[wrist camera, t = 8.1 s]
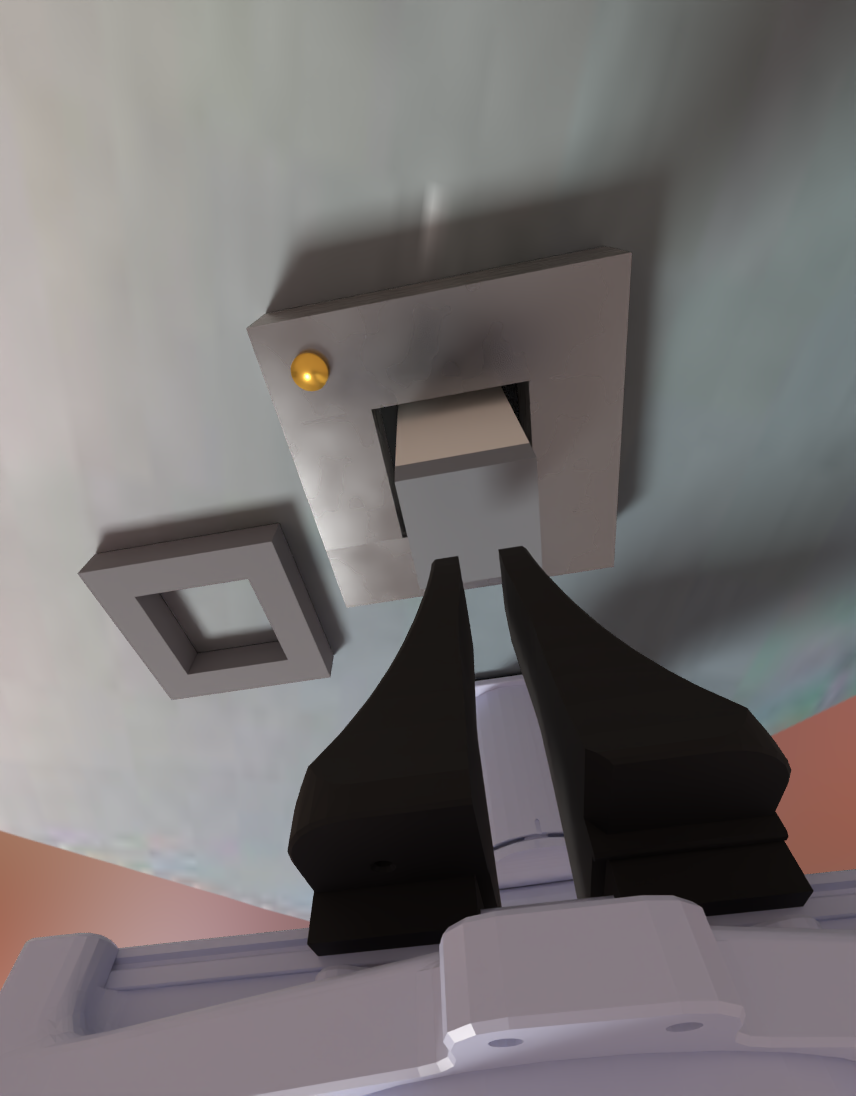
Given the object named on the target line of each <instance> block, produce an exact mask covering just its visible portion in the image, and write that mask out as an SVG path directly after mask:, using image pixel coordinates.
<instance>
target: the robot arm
mask: <svg viewBox="0 0 856 1096" xmlns="http://www.w3.org/2000/svg"><path fill="white" fill-rule="evenodd" d="M498 551H499V560H500V569H501V578H502V587H503V596H504V605H505V612H506V616H507V621H508V626H509V631H510V636H511V640H512V644H513V647H514V650H515V653H516V656H517V659H518V662H519V665H520V668H521V671H522V674H523V675H515V676H508V677H501V678H494V679H487V680H480V681H475V674H474V653H473V643H472V636H471V629H470V623H469V616H468V610H467V604H466V598H465V592H464V587H463V581H462V575H461V569H460V563H459V557H458V556H454V557H448V558H441V559H435V560H434V561H433V563H432V564H431V571H430V575H429V579H428V583H427V586H426V589H425V592H424V596H423V598H422V601H421V603H420V606H419V609H418V611H417V614H416V616H415V619H414V621H413V623H412V625H411V628H410V630H409V632H408V634H407V636H406V638H405V640H404V642H403V644H402V646H401V648H400V650H399V652H398V654H397V655H396V657H395V659H394V661H393V662H392V664H391V666H390V667H389V669H388V671H387V672H386V674H385V675H384V677H383V678H382V680H381V681H380V683H379V684H378V686H377V687H376V689H375V690H374V692H373V693H372V694H371V696H370V697H369V699H368V700H367V701H366V703H365V704H364V705H363V706H362V708H361V709H360V710H359V711H358V712H357V714H356V715H355V716H354V717H353V719H352V720H351V721H350V722H349V724H348V725H347V726H346V727H345V729H344V730H343V731H342V732H341V733H340V734H339V735H338V736H337V737H336V739H335V740H334V741H333V742H332V743H331V744H330V745H329V746H328V747H327V748H326V749H325V750H324V751H323V752H322V753H321V754H320V755H319V756H318V757H317V758H316V759H315V760H314V761H313V762H312V763H311V764H310V765H309V766H308V769H307V771H306V774H305V777H304V780H303V783H302V786H301V789H300V793H299V796H298V799H297V802H296V806H295V810H294V815H293V821H292V827H291V833H290V839H289V846H288V854H289V856H290V858H291V860H292V862H293V863H294V865H295V866H296V868H297V869H298V870H299V872H300V873H301V874H302V876H303V877H304V878H305V880H306V881H307V882H308V884H309V885H310V886H311V888H312V889H313V890H314V896H313V903H312V910H311V918H310V925H309V928H303V929H295V930H294V929H293V930H284V931H276V932H265V933H256V934H247V935H238V936H229V937H219V938H209V939H200V940H191V941H181V942H173V943H163V944H154V945H144V946H135V947H125V948H117V946H116V944H114V943H113V942H112V941H111V940H109V939H108V938H106V937H104V936H102V935H98V934H93V933H75V934H66V935H57V936H49V937H40V938H32V939H30V940H28V941H27V942H26V943H25V945H24V947H23V949H22V950H21V952H20V955H19V956H18V958H17V960H16V962H15V964H14V966H13V968H12V970H11V972H10V974H9V976H8V978H7V980H6V981H5V983H4V985H3V987H2V989H1V991H0V1096H856V869H854V870H844V871H835V872H825V873H816V874H807V875H804V874H803V872H802V870H801V868H800V867H799V865H798V864H797V862H796V860H795V858H794V857H793V855H792V853H791V852H790V850H789V848H788V846H787V845H786V843H785V841H784V840H787V838H788V833H787V830H786V828H785V827H784V825H783V823H782V822H781V820H780V818H779V817H778V815H777V813H776V812H775V811H776V808H777V806H778V804H779V802H780V800H781V798H782V795H783V793H784V791H785V789H786V787H787V784H788V782H789V778H790V773H791V768H790V766H789V763H788V760H787V759H786V757H785V756H784V754H783V753H782V751H781V750H780V748H779V747H778V745H777V744H776V742H775V741H774V740H773V738H772V737H771V736H770V735H769V733H768V732H767V731H766V730H765V728H764V727H763V726H762V725H761V724H760V723H759V721H758V720H757V719H756V718H755V717H754V716H753V714H752V713H751V712H750V711H749V710H748V708H746V707H744V706H742V705H739V704H737V703H735V702H733V701H731V700H728V699H726V698H724V697H722V696H719V695H717V694H715V693H713V692H710V691H708V690H706V689H704V688H702V687H699V686H697V685H695V684H693V683H691V682H689V681H688V680H686V679H684V678H682V677H680V676H678V675H676V674H674V673H672V672H670V671H669V670H667V669H665V668H663V667H662V666H660V665H659V664H657V663H655V662H654V661H652V660H650V659H649V658H647V657H645V656H644V655H642V654H640V653H639V652H637V651H635V650H634V649H633V648H631V647H630V646H628V645H627V644H625V643H624V642H622V641H621V640H620V639H618V638H617V637H615V636H614V635H613V634H611V633H610V632H609V631H607V630H606V629H605V628H604V627H602V626H601V625H600V624H599V623H597V622H596V621H595V620H594V619H592V618H591V617H590V616H589V615H588V614H587V613H586V612H584V611H583V610H582V609H581V608H580V607H579V606H578V605H577V604H575V603H574V602H573V601H572V600H571V599H570V598H569V597H568V596H567V595H566V594H565V593H564V592H563V591H562V590H561V589H560V588H559V587H558V586H557V585H556V584H555V583H554V582H553V581H552V579H551V578H550V577H549V576H548V575H547V574H546V573H545V572H544V570H543V569H542V568H541V567H540V566H539V565H538V563H537V562H536V561H535V560H534V558H533V557H532V556H531V554H530V553H529V552H528V550H527V549H526V548H525V547H523V546H517V547H511V548H504V549H498Z"/></svg>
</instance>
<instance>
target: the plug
mask: <svg viewBox="0 0 856 1096" xmlns="http://www.w3.org/2000/svg"><path fill="white" fill-rule="evenodd" d="M394 482H395V486H396V491H397V495H398V499H399V503H400V507H401V511H402V516H403V520H404V524H405V528H406V532H407V536H408V541H409V545H410V549H411V553H412V557H413V561H414V566H415V570H416V574H417V578H418V582H419V586H420V589H426V586H427V583H428V579H429V575H430V571H431V564H432V563H433V561H434V560H435V559H441V558H448V557H454V556H458V557H459V563H460V569H461V575H462V581H463V583H464V582H470V581H477V580H483V579H490V578H496V577H501V569H500V560H499V551H498V549H504V548H511V547H517V546H523V547H525V548H526V549H527V550H528V552H529V553H530V554H531V556H532V557H533V558H534V560H535V561H536V562H537V563H538V565H539V566H540V567H541V568H542V552H541V532H540V513H539V494H538V474H537V457H536V455H535V453H534V451H533V449H532V447H531V445H530V443H529V441H528V439H527V437H526V435H525V433H524V431H523V429H522V427H521V425H520V423H519V421H518V420H517V418H516V416H515V414H514V412H513V410H512V408H511V406H510V404H509V402H508V400H507V398H506V396H505V394H504V392H503V390H502V388H501V386H497V387H491V388H486V389H480V390H475V391H470V392H464V393H459V394H453V395H448V396H442V397H437V398H431V399H426V400H420V401H415V402H409V403H404V404H398V417H397V438H396V460H395V481H394Z"/></svg>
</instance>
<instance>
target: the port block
mask: <svg viewBox="0 0 856 1096" xmlns="http://www.w3.org/2000/svg"><path fill="white" fill-rule="evenodd" d="M631 260H632V252H629V251H624V250H620V249H615V248H611V247H606V246H603V247H598V248H592V249H587V250H582V251H577V252H572V253H567V254H562V255H557V256H552V257H547V258H542V259H537V260H532V261H527V262H522V263H517V264H512V265H507V266H502V267H497V268H492V269H487V270H482V271H477V272H472V273H467V274H462V275H457V276H452V277H447V278H442V279H437V280H432V281H427V282H422V283H417V284H412V285H407V286H402V287H397V288H392V289H387V290H382V291H377V292H371V293H366V294H361V295H356V296H351V297H346V298H341V299H336V300H331V301H326V302H321V303H316V304H311V305H306V306H301V307H296V308H291V309H286V310H281V311H276V312H271V313H266V314H264V315H263V316H261V317H260V318H259V319H258V320H256V321H255V322H254V323H252V324H251V325H250V326H249V327H247V328H246V329H247V332H248V335H249V338H250V340H251V343H252V346H253V349H254V352H255V354H256V357H257V360H258V363H259V365H260V368H261V371H262V374H263V377H264V379H265V382H266V385H267V388H268V390H269V393H270V396H271V399H272V402H273V404H274V407H275V410H276V413H277V416H278V418H279V421H280V424H281V427H282V429H283V432H284V435H285V438H286V441H287V443H288V446H289V449H290V452H291V454H292V457H293V460H294V463H295V466H296V468H297V471H298V474H299V477H300V479H301V482H302V485H303V488H304V491H305V493H306V496H307V499H308V502H309V505H310V507H311V510H312V513H313V516H314V518H315V521H316V524H317V527H318V530H319V532H320V535H321V538H322V541H323V543H324V546H325V549H326V552H327V555H328V557H329V560H330V563H331V566H332V568H333V571H334V574H335V577H336V580H337V582H338V585H339V588H340V591H341V594H342V596H343V599H344V602H345V605H346V607H347V608H348V607H354V606H361V605H368V604H374V603H381V602H387V601H394V600H400V599H407V598H413V597H420V596H424V592H425V589H420V586H419V582H418V578H417V574H416V570H415V566H414V561H413V557H412V553H411V549H410V545H409V541H408V536H407V532H406V528H405V524H404V520H403V516H402V511H401V507H400V503H399V499H398V495H397V491H396V486H395V482H394V481H395V471H394V467H393V462H392V458H391V454H390V449H389V445H388V441H387V437H386V432H385V428H384V424H383V419H382V415H381V411H380V408H382V407H387V406H393V405H398V404H404V403H409V402H415V401H420V400H426V399H431V398H437V397H442V396H448V395H453V394H459V393H464V392H470V391H475V390H480V389H486V388H491V387H497V386H502V385H508V384H513V383H517V388H518V403H519V418H520V425H521V427H522V429H523V431H524V433H525V435H526V437H527V439H528V441H529V443H530V445H531V447H532V449H533V451H534V453H535V455H536V457H537V474H538V494H539V513H540V532H541V552H542V569H543V570H544V572H545V573H546V574H547V575H548V576H549V577H550V576H556V575H563V574H569V573H576V572H582V571H589V570H595V569H602V568H608V567H614V554H615V536H616V519H617V502H618V485H619V467H620V450H621V433H622V416H623V398H624V381H625V364H626V347H627V329H628V312H629V295H630V278H631ZM498 584H502V578H501V577H496V578H490V579H483V580H477V581H470V582H464V583H463V587H464V590H465V589H472V588H478V587H485V586H491V585H498Z"/></svg>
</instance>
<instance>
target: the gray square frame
mask: <svg viewBox="0 0 856 1096" xmlns="http://www.w3.org/2000/svg"><path fill="white" fill-rule="evenodd" d="M78 575H79V576H80V577H81V579H82V580H83V581H84V583H85V584H86V585H87V587H88V588H89V589H90V591H91V592H92V594H93V595H94V596H95V598H96V599H97V600H98V602H99V603H100V604H101V606H102V607H103V608H104V610H105V611H106V612H107V614H108V615H109V616H110V618H111V619H112V620H113V622H114V623H115V624H116V626H117V627H118V628H119V630H120V631H121V633H122V634H123V635H124V637H125V638H126V639H127V641H128V642H129V643H130V645H131V646H132V647H133V649H134V650H135V651H136V653H137V654H138V655H139V657H140V658H141V659H142V661H143V662H144V663H145V665H146V666H147V667H148V669H149V670H150V672H151V673H152V674H153V676H154V677H155V678H156V680H157V681H158V682H159V684H160V685H161V686H162V688H163V689H164V690H165V692H166V693H167V694H168V696H169V697H170V698H171V700H175V699H182V698H189V697H196V696H203V695H210V694H217V693H224V692H231V691H238V690H244V689H251V688H258V687H265V686H272V685H279V684H286V683H293V682H300V681H307V680H314V679H321V678H328V677H330V676H331V669H332V663H333V657H334V656H333V653H332V651H331V648H330V646H329V644H328V641H327V639H326V636H325V634H324V631H323V629H322V627H321V624H320V622H319V619H318V617H317V614H316V612H315V610H314V607H313V605H312V602H311V600H310V597H309V595H308V593H307V590H306V588H305V585H304V583H303V580H302V578H301V576H300V573H299V571H298V568H297V566H296V563H295V561H294V559H293V556H292V554H291V551H290V549H289V546H288V544H287V542H286V539H285V537H284V534H283V532H282V529H281V527H280V524H279V523H277V524H271V525H265V526H259V527H253V528H247V529H241V530H235V531H229V532H223V533H217V534H211V535H205V536H199V537H194V538H188V539H182V540H176V541H170V542H164V543H158V544H152V545H146V546H140V547H134V548H128V549H122V550H116V551H110V552H104V553H98V554H95V555H94V556H93V557H92V558H91V559H90V560H89V561H88V563H87V564H86V565H85V566H84V567H83V568H82V569H81V570H80V572H79V573H78ZM243 579H249V582H250V584H251V586H252V588H253V590H254V592H255V594H256V596H257V598H258V600H259V602H260V604H261V606H262V608H263V610H264V612H265V614H266V616H267V618H268V620H269V622H270V624H271V626H272V628H273V630H274V632H275V634H276V636H277V638H278V640H279V641H277V642H270V643H263V644H257V645H250V646H243V647H237V648H230V649H223V650H217V651H210V652H203V653H197V652H196V650H195V649H194V647H193V646H192V644H191V642H190V641H189V639H188V638H187V636H186V635H185V633H184V632H183V630H182V628H181V627H180V625H179V624H178V622H177V621H176V619H175V617H174V616H173V614H172V613H171V611H170V610H169V608H168V607H167V605H166V603H165V602H164V600H163V599H162V597H161V596H160V594H159V593H162V592H169V591H175V590H181V589H187V588H194V587H200V586H206V585H212V584H218V583H225V582H231V581H237V580H243Z"/></svg>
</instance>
